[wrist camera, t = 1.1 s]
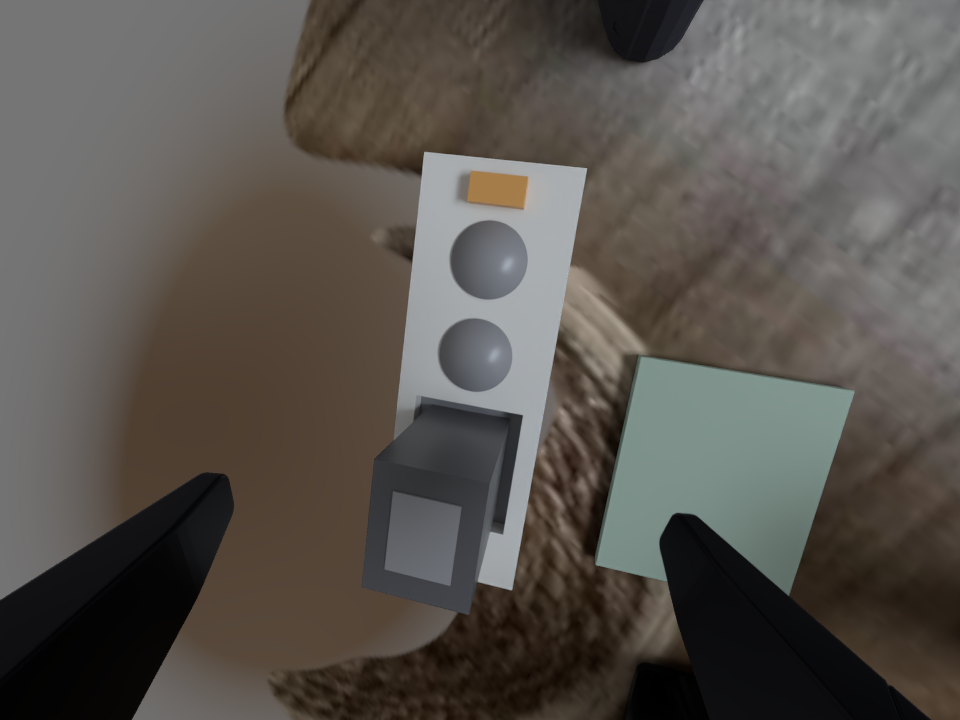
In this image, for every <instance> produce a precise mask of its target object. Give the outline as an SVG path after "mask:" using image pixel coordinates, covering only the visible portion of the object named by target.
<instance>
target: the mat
mask: <svg viewBox="0 0 960 720" xmlns="http://www.w3.org/2000/svg"><path fill="white" fill-rule="evenodd" d="M854 392H855V391H853V390H850V389H847V388H842V387H836V386H830V385H823V384H817V383H811V382H805V381H799V380H792V379H786V378H780V377H774V376H767V375H761V374H755V373H749V372H743V371H736V370H730V369H724V368H718V367H711V366H705V365H699V364H693V363H687V362H680V361H674V360H668V359H662V358H655V357H649V356H643V355H638V360H637V365H636V369H635V374H634V378H633V383H632V388H631V392H630V397H629V401H628V406H627V411H626V415H625V420H624V425H623V429H622V434H621V438H620V443H619V448H618V452H617V457H616V461H615V466H614V471H613V475H612V480H611V485H610V489H609V494H608V498H607V503H606V508H605V512H604V517H603V521H602V526H601V531H600V535H599V540H598V544H597V549H596V554H595V563H596V565H598V566H602V567H606V568H611V569H615V570H619V571H624V572H628V573H632V574H636V575H641V576H645V577H649V578H654V579H658V580H662V581H666V582H667V578H666V574H665V569H664V565H663V561H662V557H661V553H660V548H659V540H660V536H661V534H662V532H663V531H664V529H665V527H666V525H667V523H668V521H669V520H670V518H671V516H672V515H673V514H675V513H689V514H694V515H696V516H698V517H699V518H700V519H701V520H702V521H703V522H705V523H706V524H707V525H708V526H709V527H710V528H711V529H713V530H714V531H715V532H716V533H717V534H718V535H720V536H721V537H722V538H723V539H724V540H725V541H726V542H728V543H729V544H730V545H731V546H732V547H733V548H734V549H736V550H737V551H738V552H739V553H740V554H741V555H742V556H744V557H745V558H746V559H747V560H748V561H749V562H750V563H752V564H753V565H754V566H755V567H756V568H757V569H758V570H760V571H761V572H762V573H763V574H764V575H765V576H767V577H768V578H769V579H770V580H771V581H772V582H773V583H775V584H776V585H777V586H778V587H779V588H780V589H781V590H783V591H784V592H785V593H786V594H787V595H788V596H789V594H790V591H791V588H792V585H793V582H794V578H795V575H796V572H797V569H798V566H799V563H800V560H801V557H802V554H803V550H804V547H805V544H806V541H807V538H808V535H809V532H810V529H811V526H812V523H813V519H814V516H815V513H816V510H817V507H818V504H819V501H820V498H821V495H822V491H823V488H824V485H825V482H826V479H827V476H828V473H829V470H830V467H831V463H832V460H833V457H834V454H835V451H836V448H837V445H838V442H839V439H840V436H841V432H842V429H843V426H844V423H845V420H846V417H847V414H848V411H849V408H850V404H851V401H852V398H853V395H854Z"/></svg>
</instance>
